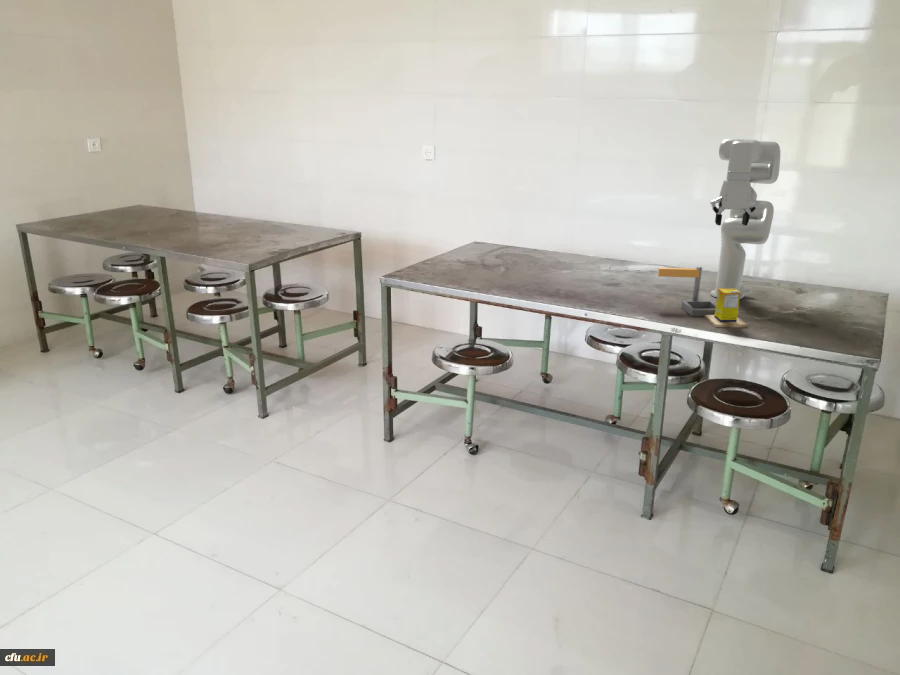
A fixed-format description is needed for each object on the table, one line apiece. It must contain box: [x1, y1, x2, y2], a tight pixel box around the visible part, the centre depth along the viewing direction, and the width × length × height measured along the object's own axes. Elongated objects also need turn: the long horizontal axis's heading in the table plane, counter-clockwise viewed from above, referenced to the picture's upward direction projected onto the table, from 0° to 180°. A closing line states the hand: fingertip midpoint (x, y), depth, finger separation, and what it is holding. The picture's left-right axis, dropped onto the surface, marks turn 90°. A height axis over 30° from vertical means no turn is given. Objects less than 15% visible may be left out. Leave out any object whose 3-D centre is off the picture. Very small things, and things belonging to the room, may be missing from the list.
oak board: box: [703, 315, 748, 328], centre depth 243 cm, size 11×11×1 cm
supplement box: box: [714, 288, 741, 322], centre depth 241 cm, size 6×6×11 cm
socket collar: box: [681, 300, 716, 317], centre depth 255 cm, size 11×11×2 cm
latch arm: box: [657, 266, 703, 301], centre depth 260 cm, size 16×2×15 cm, turn 84°
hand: (731, 224), depth 247 cm, fingers open, 9 cm apart
